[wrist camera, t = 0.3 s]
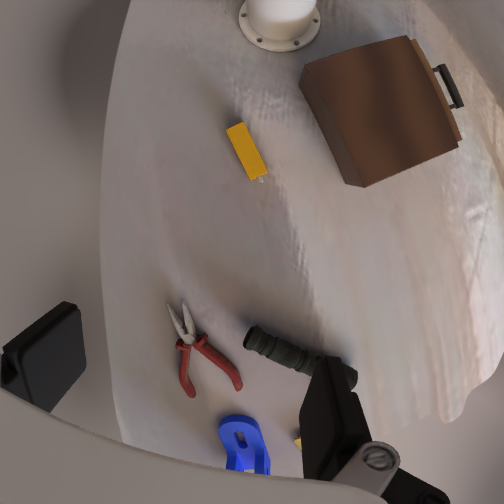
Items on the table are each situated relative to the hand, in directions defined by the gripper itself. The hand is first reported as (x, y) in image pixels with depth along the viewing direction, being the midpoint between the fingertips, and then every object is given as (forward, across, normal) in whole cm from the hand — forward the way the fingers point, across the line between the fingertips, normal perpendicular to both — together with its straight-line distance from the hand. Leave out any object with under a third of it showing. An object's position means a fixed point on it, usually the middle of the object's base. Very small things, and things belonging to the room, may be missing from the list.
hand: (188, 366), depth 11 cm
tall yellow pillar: (+37, +2, -10) cm, 38 cm away
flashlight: (+37, -12, +22) cm, 45 cm away
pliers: (+37, +4, +25) cm, 45 cm away
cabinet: (+37, -15, -19) cm, 44 cm away
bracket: (+37, -6, +48) cm, 61 cm away
